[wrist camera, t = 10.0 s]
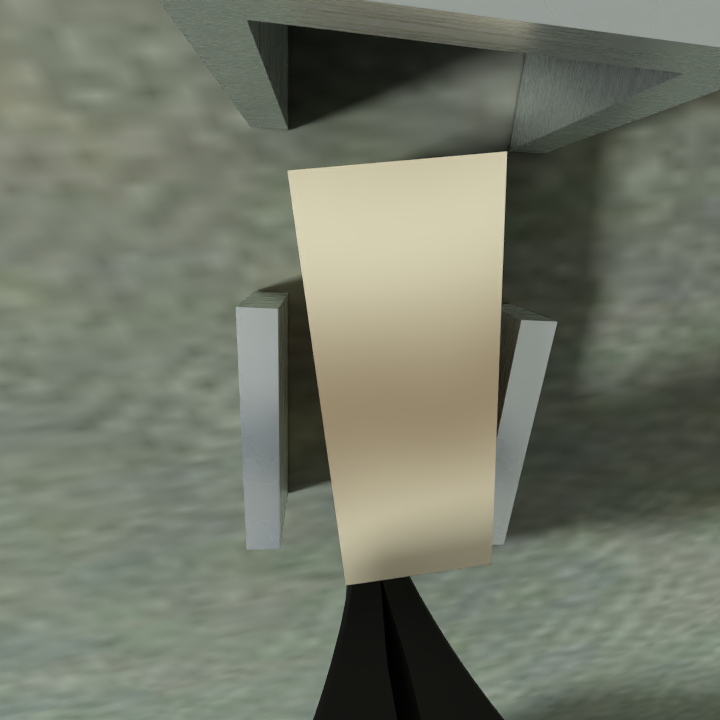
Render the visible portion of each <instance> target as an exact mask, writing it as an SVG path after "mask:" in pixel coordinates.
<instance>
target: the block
mask: <svg viewBox="0 0 720 720" xmlns="http://www.w3.org/2000/svg"><path fill="white" fill-rule="evenodd" d="M159 1H160V3H161V4H162V5H163V7H164V8H165V10H166V11H167V12H168V14H169V15H170V17H171V18H172V19H173V21H174V22H175V23H176V25H177V26H178V28H179V29H180V30H181V32H182V33H183V34H184V36H185V37H186V39H187V40H188V41H189V43H190V44H191V45H192V47H193V48H194V50H195V51H196V52H197V54H198V55H199V57H200V58H201V59H202V61H203V62H204V63H205V65H206V66H207V68H208V69H209V70H210V72H211V73H212V74H213V76H214V77H215V79H216V80H217V81H218V83H219V84H220V86H221V87H222V88H223V90H224V91H225V92H226V94H227V95H228V97H229V98H230V99H231V101H232V102H233V103H234V105H235V106H236V108H237V109H238V110H239V112H240V113H241V115H242V116H243V117H244V119H245V120H246V121H247V123H248V124H249V126H250V127H261V128H271V129H282V130H288V25H294V26H302V27H310V28H318V29H326V30H335V31H343V32H351V33H359V34H367V35H375V36H383V37H392V38H400V39H408V40H416V41H424V42H432V43H440V44H449V45H457V46H465V47H473V48H481V49H489V50H497V51H506V52H514V53H522V54H526V57H525V63H524V68H523V74H522V80H521V86H520V92H519V98H518V103H517V109H516V115H515V121H514V127H513V132H512V138H511V144H510V150H509V151H515V152H526V153H536V154H544V153H547V152H549V151H552V150H555V149H558V148H560V147H563V146H566V145H569V144H571V143H574V142H577V141H580V140H583V139H585V138H588V137H591V136H594V135H596V134H599V133H602V132H605V131H607V130H610V129H613V128H616V127H619V126H621V125H624V124H627V123H630V122H632V121H635V120H638V119H641V118H643V117H646V116H649V115H652V114H655V113H657V112H660V111H663V110H666V109H668V108H671V107H674V106H677V105H679V104H682V103H685V102H688V101H691V100H693V99H696V98H699V97H702V96H704V95H707V94H710V93H713V92H715V91H718V90H720V0H159Z"/></svg>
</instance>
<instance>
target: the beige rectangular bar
mask: <svg viewBox="0 0 720 720" xmlns="http://www.w3.org/2000/svg"><path fill="white" fill-rule="evenodd" d="M506 169H507V151H506V152H495V153H483V154H472V155H460V156H449V157H438V158H426V159H415V160H404V161H392V162H381V163H369V164H358V165H347V166H335V167H324V168H312V169H301V170H290V171H288V178H289V185H290V192H291V199H292V206H293V213H294V220H295V227H296V234H297V241H298V249H299V256H300V263H301V270H302V277H303V284H304V291H305V298H306V305H307V312H308V320H309V327H310V334H311V341H312V348H313V355H314V362H315V369H316V376H317V383H318V390H319V398H320V405H321V412H322V419H323V426H324V433H325V440H326V447H327V454H328V461H329V469H330V476H331V483H332V490H333V497H334V504H335V511H336V518H337V525H338V532H339V539H340V547H341V554H342V561H343V568H344V575H345V582H346V585H352V584H359V583H366V582H373V581H380V580H387V579H394V578H400V577H407V576H414V575H421V574H428V573H435V572H441V571H448V570H455V569H462V568H469V567H476V566H482V565H489V564H492V541H493V514H494V488H495V461H496V435H497V408H498V382H499V355H500V328H501V302H502V275H503V249H504V222H505V196H506Z"/></svg>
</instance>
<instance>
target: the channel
mask: <svg viewBox="0 0 720 720" xmlns="http://www.w3.org/2000/svg"><path fill="white" fill-rule="evenodd" d="M236 323H237V345H238V368H239V390H240V412H241V435H242V457H243V479H244V502H245V524H246V546H247V549H280V544H281V537H282V531H283V524H284V517H285V510H286V503H287V497H288V293H279V292H260V291H254V292H253V293H252V294H251V295H250V296H248V297H247V298H246V299H245V300H244V301H242V302H241V303H240V304H239V305H238V306H236ZM556 326H557V321H554V320H552V319H549V318H547V317H544V316H542V315H539V314H536V313H534V312H531V311H529V310H526V309H524V308H521V307H518V306H516V305H513V304H501V328H500V355H499V382H498V408H497V435H496V461H495V488H494V514H493V541H492V545H504V541H505V537H506V533H507V529H508V525H509V521H510V516H511V512H512V508H513V504H514V500H515V496H516V492H517V487H518V483H519V479H520V475H521V471H522V467H523V463H524V458H525V454H526V450H527V446H528V442H529V438H530V434H531V429H532V425H533V421H534V417H535V413H536V409H537V404H538V400H539V396H540V392H541V388H542V384H543V380H544V375H545V371H546V367H547V363H548V359H549V355H550V351H551V346H552V342H553V338H554V334H555V330H556Z"/></svg>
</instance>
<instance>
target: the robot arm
mask: <svg viewBox="0 0 720 720" xmlns="http://www.w3.org/2000/svg"><path fill="white" fill-rule="evenodd" d="M313 720H504V719H503V718H502V716H501V715H500V714H499V713H498V711H497V710H496V709H495V707H494V706H493V705H492V704H491V702H490V701H489V700H488V698H487V697H486V696H485V694H484V693H483V692H482V690H481V689H480V688H479V686H478V685H477V684H476V682H475V681H474V679H473V678H472V677H471V675H470V674H469V672H468V671H467V670H466V668H465V667H464V665H463V664H462V662H461V661H460V659H459V658H458V656H457V655H456V653H455V652H454V650H453V649H452V647H451V646H450V644H449V643H448V641H447V640H446V638H445V637H444V635H443V633H442V632H441V630H440V629H439V627H438V625H437V624H436V622H435V620H434V619H433V617H432V615H431V614H430V612H429V610H428V609H427V607H426V605H425V604H424V602H423V600H422V598H421V596H420V595H419V593H418V591H417V589H416V587H415V585H414V584H413V582H412V580H411V578H410V576H407V577H400V578H394V579H387V580H380V581H373V582H366V583H359V584H352V585H347V589H346V601H345V606H344V612H343V617H342V622H341V626H340V631H339V634H338V638H337V642H336V646H335V650H334V654H333V658H332V661H331V665H330V668H329V672H328V675H327V679H326V682H325V685H324V689H323V692H322V695H321V698H320V701H319V704H318V707H317V710H316V713H315V716H314V719H313Z"/></svg>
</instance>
